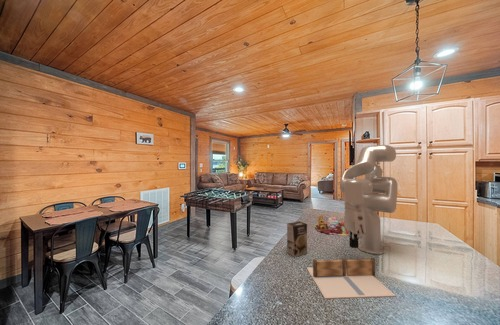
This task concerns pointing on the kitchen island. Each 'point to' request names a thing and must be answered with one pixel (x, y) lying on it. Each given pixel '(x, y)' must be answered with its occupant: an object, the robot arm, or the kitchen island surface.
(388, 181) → the robot arm
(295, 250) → the coffee box
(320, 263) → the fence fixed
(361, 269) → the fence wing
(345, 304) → the kitchen island surface
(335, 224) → the plate of food
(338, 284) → the card
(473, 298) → the kitchen island surface
